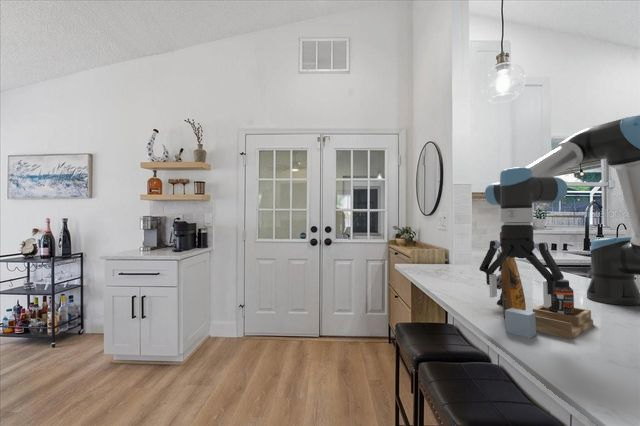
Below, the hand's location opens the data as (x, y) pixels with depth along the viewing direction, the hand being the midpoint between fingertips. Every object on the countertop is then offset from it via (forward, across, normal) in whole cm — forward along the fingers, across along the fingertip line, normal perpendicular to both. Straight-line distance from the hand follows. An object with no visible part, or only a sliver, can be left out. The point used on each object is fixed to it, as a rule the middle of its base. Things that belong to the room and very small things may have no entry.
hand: (518, 301), depth 88 cm
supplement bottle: (+7, +4, +18) cm, 20 cm away
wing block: (+9, 0, 0) cm, 9 cm away
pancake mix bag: (+9, -9, +16) cm, 20 cm away
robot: (+9, -16, +28) cm, 34 cm away
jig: (+8, +4, +14) cm, 17 cm away
